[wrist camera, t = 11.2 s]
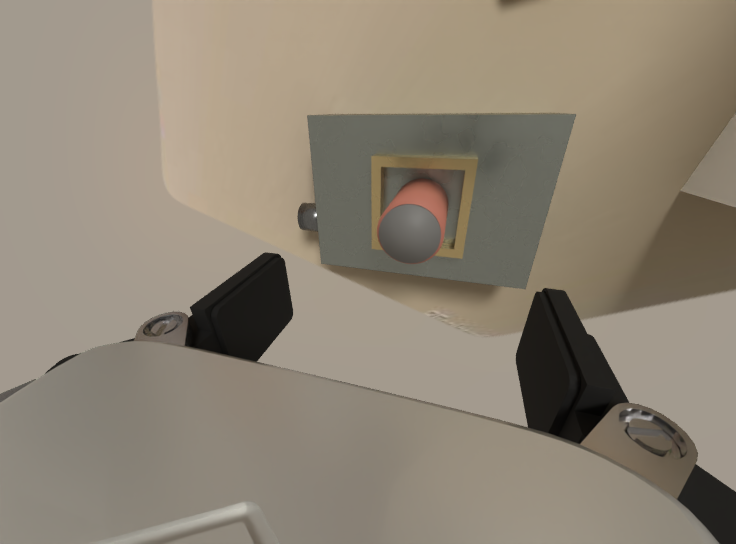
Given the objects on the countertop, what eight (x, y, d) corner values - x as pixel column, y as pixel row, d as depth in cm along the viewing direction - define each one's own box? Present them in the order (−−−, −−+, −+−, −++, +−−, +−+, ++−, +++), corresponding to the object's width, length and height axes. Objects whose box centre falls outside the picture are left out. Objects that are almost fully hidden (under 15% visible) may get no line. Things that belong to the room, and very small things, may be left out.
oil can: (451, 180, 24) (448, 205, 18) (444, 232, 26) (439, 269, 21) (396, 176, 25) (376, 199, 19) (394, 227, 28) (375, 261, 22)
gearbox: (553, 113, 25) (582, 114, 19) (515, 260, 32) (527, 296, 26) (306, 114, 31) (268, 115, 25) (318, 239, 38) (290, 265, 31)
